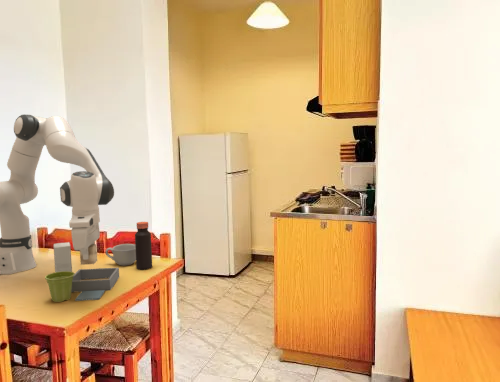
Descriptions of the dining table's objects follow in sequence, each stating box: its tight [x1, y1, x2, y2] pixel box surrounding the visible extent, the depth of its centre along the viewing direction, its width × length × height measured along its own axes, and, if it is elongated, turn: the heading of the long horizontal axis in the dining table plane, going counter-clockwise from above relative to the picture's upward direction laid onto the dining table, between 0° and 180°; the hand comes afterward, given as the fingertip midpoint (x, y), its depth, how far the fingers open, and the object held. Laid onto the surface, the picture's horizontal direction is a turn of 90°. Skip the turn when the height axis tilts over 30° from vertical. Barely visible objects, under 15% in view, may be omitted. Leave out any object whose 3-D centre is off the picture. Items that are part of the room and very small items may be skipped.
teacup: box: [104, 243, 136, 267], centre depth 190 cm, size 14×11×8 cm
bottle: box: [134, 221, 153, 271], centre depth 182 cm, size 7×7×20 cm
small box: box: [53, 241, 73, 273], centre depth 174 cm, size 8×6×13 cm
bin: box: [71, 267, 120, 293], centre depth 162 cm, size 16×16×4 cm
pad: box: [74, 290, 105, 302], centre depth 149 cm, size 8×8×1 cm
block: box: [79, 244, 98, 266], centre depth 148 cm, size 4×4×6 cm
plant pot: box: [44, 271, 76, 303], centre depth 147 cm, size 9×9×9 cm
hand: (88, 256), depth 148 cm, fingers closed on block, 4 cm apart
